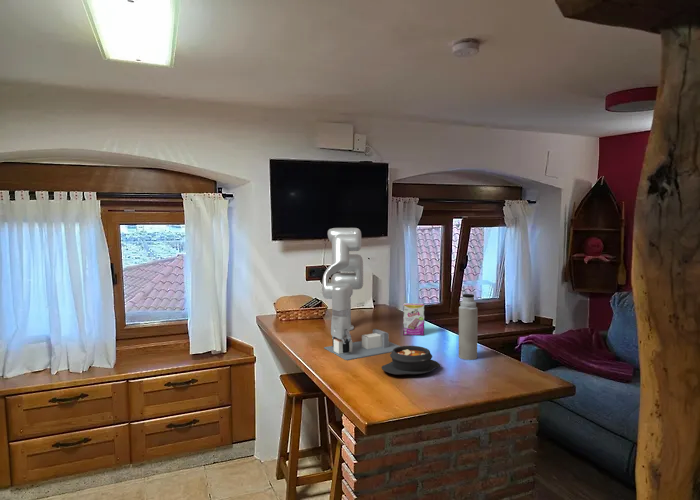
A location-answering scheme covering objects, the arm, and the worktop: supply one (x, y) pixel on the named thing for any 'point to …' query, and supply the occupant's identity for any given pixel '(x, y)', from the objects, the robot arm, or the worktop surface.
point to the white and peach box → (341, 345)
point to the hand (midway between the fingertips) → (340, 349)
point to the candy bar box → (413, 318)
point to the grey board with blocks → (368, 346)
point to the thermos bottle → (468, 328)
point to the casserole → (410, 361)
